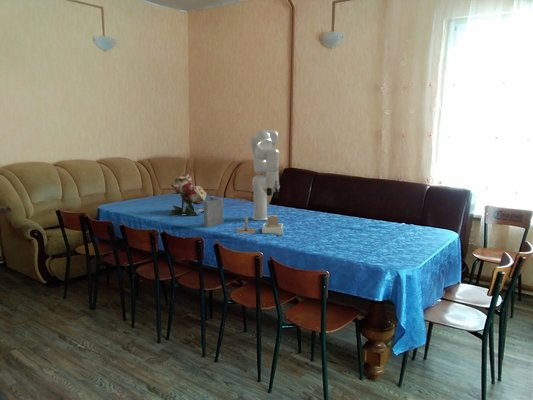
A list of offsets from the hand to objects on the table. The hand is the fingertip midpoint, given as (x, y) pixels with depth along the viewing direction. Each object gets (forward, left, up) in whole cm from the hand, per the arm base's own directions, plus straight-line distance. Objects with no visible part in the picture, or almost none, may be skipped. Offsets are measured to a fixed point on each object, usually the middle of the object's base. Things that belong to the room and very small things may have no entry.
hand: (272, 196), depth 272 cm
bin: (0, 0, -23) cm, 23 cm away
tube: (0, 0, -22) cm, 22 cm away
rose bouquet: (-59, -69, -24) cm, 94 cm away
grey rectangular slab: (-19, -42, -24) cm, 52 cm away
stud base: (0, -17, -23) cm, 29 cm away
